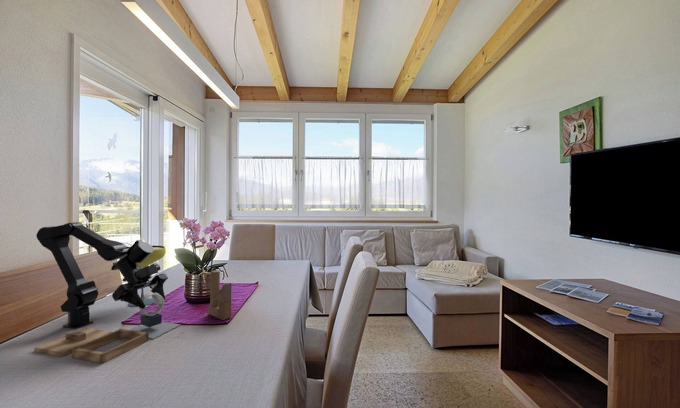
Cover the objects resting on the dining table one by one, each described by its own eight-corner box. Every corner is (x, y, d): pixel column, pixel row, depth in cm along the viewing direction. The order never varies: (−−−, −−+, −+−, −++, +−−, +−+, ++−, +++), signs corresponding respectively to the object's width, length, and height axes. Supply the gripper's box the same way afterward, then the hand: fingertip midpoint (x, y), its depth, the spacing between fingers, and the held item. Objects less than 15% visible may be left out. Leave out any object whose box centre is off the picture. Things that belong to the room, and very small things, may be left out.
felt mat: (121, 334, 105) (121, 333, 105) (150, 321, 117) (150, 320, 117) (153, 339, 102) (153, 338, 101) (180, 325, 113) (180, 324, 113)
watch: (166, 321, 111) (167, 291, 111) (144, 329, 104) (144, 297, 104) (157, 318, 114) (158, 289, 114) (135, 325, 107) (135, 294, 107)
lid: (34, 351, 93) (34, 340, 93) (86, 331, 107) (86, 322, 107) (62, 356, 90) (62, 346, 90) (112, 335, 104) (112, 326, 104)
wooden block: (223, 320, 118) (223, 275, 118) (207, 314, 124) (208, 271, 124) (231, 317, 121) (232, 273, 121) (216, 312, 127) (216, 269, 127)
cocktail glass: (122, 299, 142) (122, 246, 142) (166, 294, 150) (166, 244, 150) (113, 312, 126) (114, 252, 126) (163, 306, 134) (164, 249, 134)
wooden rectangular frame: (72, 357, 89) (72, 348, 89) (120, 335, 104) (120, 328, 104) (102, 363, 86) (102, 354, 86) (148, 340, 101) (148, 332, 101)
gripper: (119, 261, 101) (144, 297, 98) (164, 252, 119) (187, 283, 116) (100, 282, 103) (125, 319, 100) (148, 271, 121) (170, 301, 118)
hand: (154, 304), depth 109 cm, fingers closed on watch, 8 cm apart
